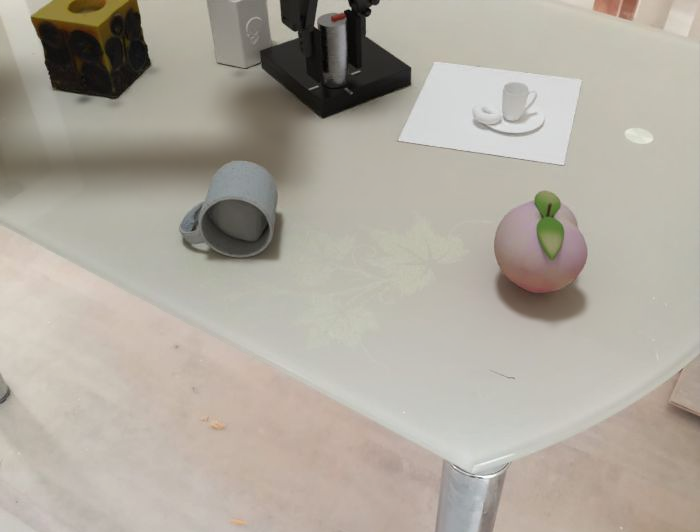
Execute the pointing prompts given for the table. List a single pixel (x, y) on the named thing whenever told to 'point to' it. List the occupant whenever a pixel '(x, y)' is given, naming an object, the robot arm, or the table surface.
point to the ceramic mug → (235, 211)
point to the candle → (92, 44)
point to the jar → (239, 30)
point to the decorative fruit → (540, 245)
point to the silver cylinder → (334, 49)
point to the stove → (364, 85)
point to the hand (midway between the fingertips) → (334, 70)
